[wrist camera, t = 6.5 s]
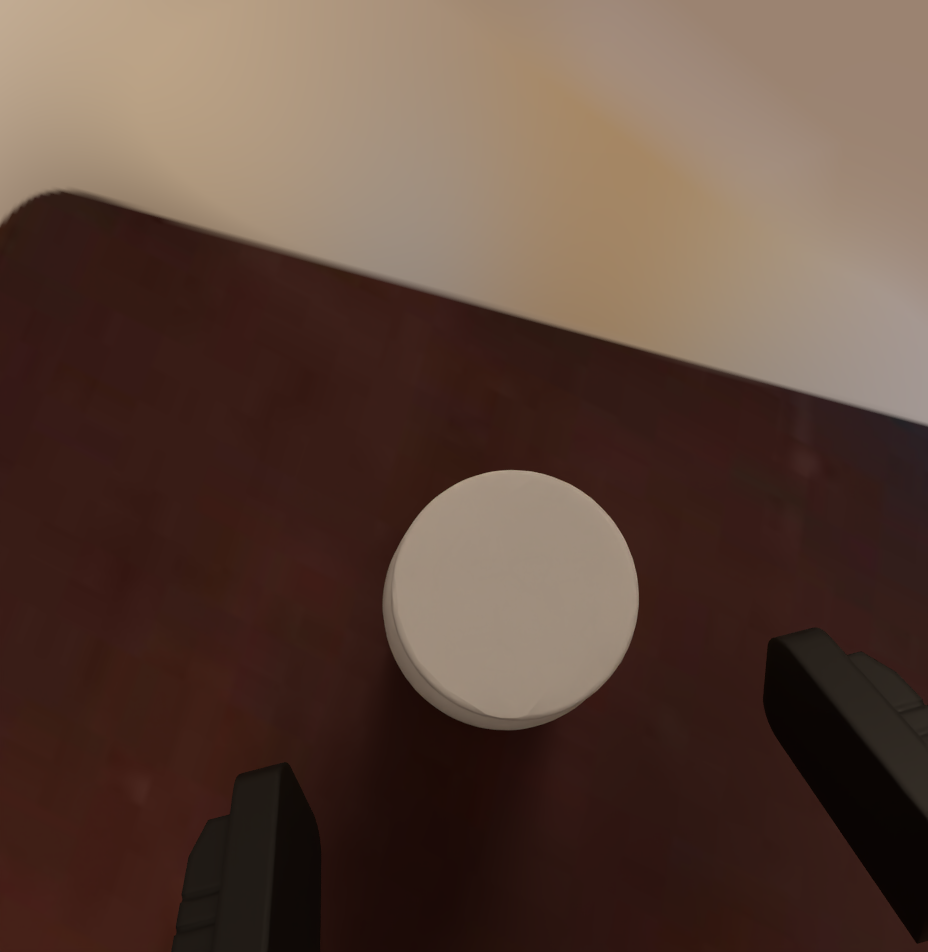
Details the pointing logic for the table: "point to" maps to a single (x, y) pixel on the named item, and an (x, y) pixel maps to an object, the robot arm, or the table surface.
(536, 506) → the supplement bottle
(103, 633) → the table surface
